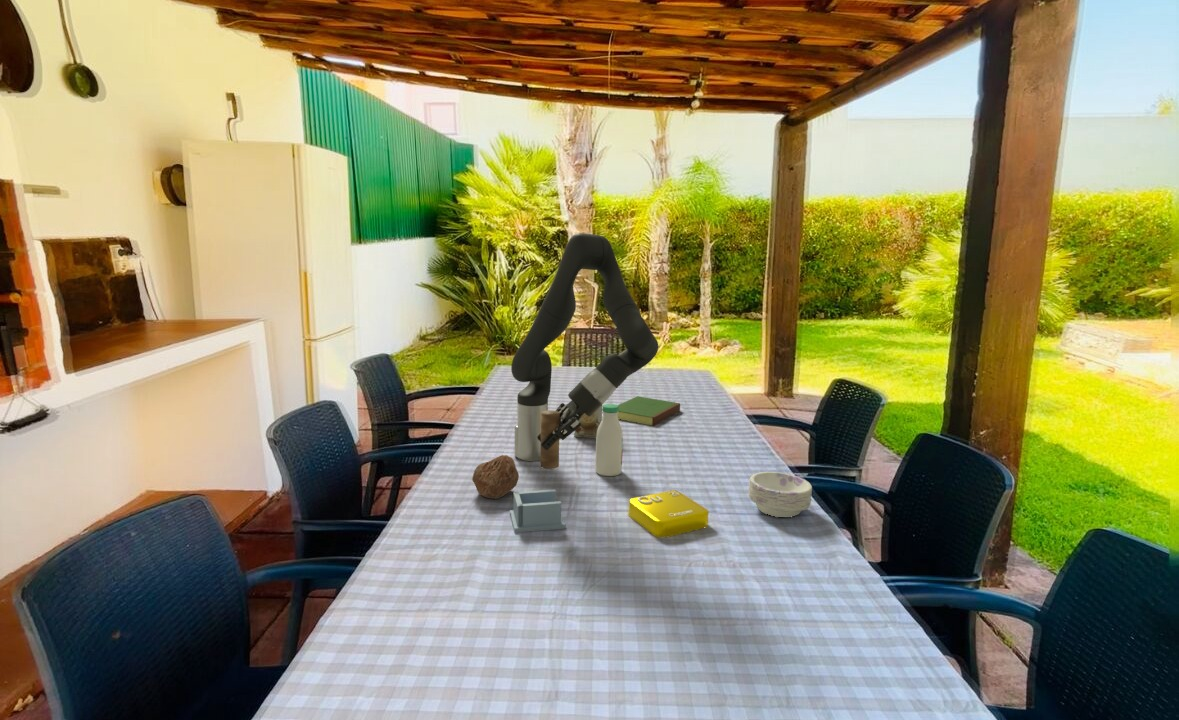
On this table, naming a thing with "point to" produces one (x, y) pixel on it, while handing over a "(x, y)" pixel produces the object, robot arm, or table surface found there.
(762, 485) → the paper bowls
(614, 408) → the milk bottle
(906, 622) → the table surface
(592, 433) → the coffee box
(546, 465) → the walnut peg
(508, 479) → the decorative rock
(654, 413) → the hardcover book
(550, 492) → the slate bracket
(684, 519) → the element tile
